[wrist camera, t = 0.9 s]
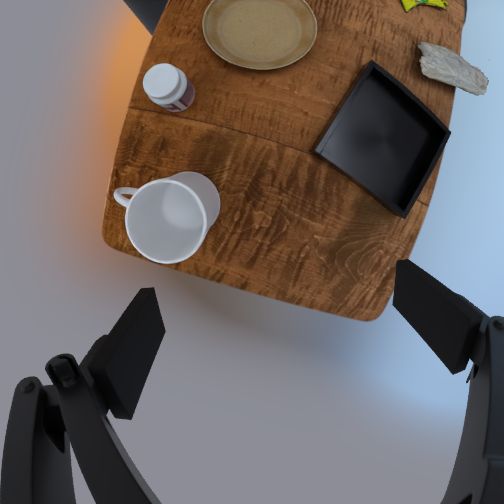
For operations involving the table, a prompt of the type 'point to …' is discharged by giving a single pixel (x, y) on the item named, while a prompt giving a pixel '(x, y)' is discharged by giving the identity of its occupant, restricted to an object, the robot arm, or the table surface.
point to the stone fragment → (451, 69)
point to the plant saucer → (260, 31)
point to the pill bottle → (169, 87)
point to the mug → (170, 215)
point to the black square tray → (383, 139)
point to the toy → (409, 3)
